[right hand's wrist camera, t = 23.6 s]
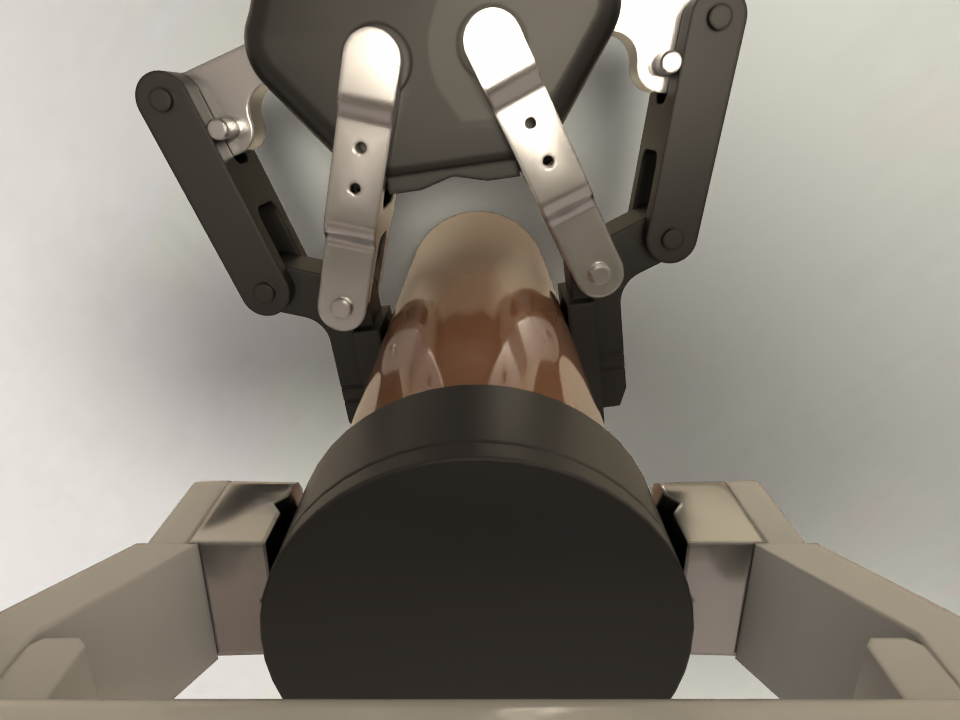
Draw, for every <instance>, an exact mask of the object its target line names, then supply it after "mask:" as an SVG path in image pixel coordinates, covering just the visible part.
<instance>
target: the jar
mask: <svg viewBox="0 0 960 720" xmlns="http://www.w3.org/2000/svg"><path fill="white" fill-rule="evenodd" d="M481 384H486V385H497V386H507V387H514V388H518V389H523V390H527V391H532V392H536V393H539V394H542V395H544V396H547V397H550V398H553V399H556V400H559V401H561V402H563V403H565V404H567V405H569V406H571V407H573V408H575V409H577V410H579V411H581V412H582V413H584V414H585V415H587V416H588V417H590V418H591V419H593V420H594V421H596V422H597V423H599V424H600V425H601V426H603V427H604V428H605V425H604V423H603V420H602V417H601V414H600V412H599V409H598V406H597V404H596V401H595V398H594V395H593V393H592V390H591V387H590V385H589V382H588V379H587V377H586V374H585V371H584V368H583V366H582V363H581V360H580V358H579V355H578V352H577V349H576V347H575V344H574V341H573V339H572V336H571V333H570V330H569V328H568V325H567V322H566V320H565V317H564V314H563V312H562V309H561V306H560V303H559V301H558V298H557V295H556V293H555V290H554V287H553V284H552V282H551V279H550V276H549V274H548V271H547V268H546V265H545V263H544V260H543V257H542V255H541V252H540V250H539V248H538V246H537V244H536V243H535V241H534V240H533V238H532V237H531V236H530V235H529V233H528V232H526V231H525V230H524V229H523V228H522V227H521V226H520V225H518V224H517V223H515V222H514V221H512V220H510V219H508V218H506V217H504V216H501V215H498V214H494V213H490V212H468V213H462V214H459V215H456V216H453V217H451V218H448V219H446V220H444V221H443V222H441V223H440V224H438V225H437V226H436V227H434V228H433V229H432V230H431V231H430V232H429V233H428V234H427V235H426V236H425V238H424V239H423V241H422V242H421V244H420V245H419V247H418V249H417V251H416V254H415V256H414V259H413V262H412V264H411V267H410V270H409V272H408V275H407V278H406V280H405V283H404V286H403V288H402V291H401V293H400V296H399V299H398V301H397V304H396V307H395V309H394V312H393V315H392V317H391V320H390V323H389V325H388V328H387V331H386V333H385V336H384V339H383V341H382V344H381V347H380V349H379V352H378V355H377V357H376V360H375V363H374V365H373V368H372V370H371V373H370V376H369V378H368V381H367V384H366V386H365V389H364V392H363V394H362V397H361V400H360V402H359V405H358V408H357V410H356V413H355V416H354V418H353V421H352V424H351V426H350V428H351V427H352V426H354V425H355V424H356V423H358V422H359V421H360V420H361V419H363V418H364V417H366V416H367V415H369V414H371V413H373V412H374V411H376V410H378V409H380V408H381V407H383V406H385V405H387V404H389V403H392V402H394V401H397V400H399V399H402V398H404V397H406V396H409V395H412V394H416V393H420V392H424V391H427V390H431V389H435V388H442V387H449V386H456V385H481ZM605 429H606V428H605Z"/></svg>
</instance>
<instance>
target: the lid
mask: <svg viewBox="0 0 960 720" xmlns="http://www.w3.org/2000/svg"><path fill="white" fill-rule="evenodd" d="M693 632H694V614H693V603H692V598H691V594H690V589H689V585H688V582H687V579H686V577H685V574H684V572H683V569H682V567H681V564H680V562H679V560H678V557H677V555H676V552H675V550H674V548H673V546H672V543H671V541H670V538H669V536H668V534H667V531H666V529H665V526H664V524H663V522H662V519H661V517H660V515H659V512H658V510H657V507H656V505H655V503H654V500H653V498H652V496H651V493H650V491H649V489H648V486H647V484H646V481H645V479H644V477H643V475H642V473H641V471H640V470H639V468H638V466H637V465H636V463H635V461H634V460H633V458H632V457H631V456H630V454H629V453H628V452H627V451H626V450H625V448H624V447H623V446H622V445H621V443H620V442H619V441H618V440H617V439H616V438H615V437H614V436H612V435H611V434H610V433H609V432H608V431H607V430H606V429H605V428H604V427H603V426H601V425H600V424H599V423H597V422H596V421H594V420H593V419H591V418H590V417H588V416H587V415H585V414H584V413H582V412H581V411H579V410H577V409H575V408H573V407H571V406H569V405H567V404H565V403H563V402H561V401H559V400H556V399H553V398H550V397H547V396H544V395H542V394H539V393H536V392H532V391H527V390H523V389H518V388H514V387H507V386H497V385H486V384H481V385H456V386H449V387H442V388H435V389H431V390H427V391H424V392H420V393H416V394H412V395H409V396H406V397H404V398H402V399H399V400H397V401H394V402H392V403H389V404H387V405H385V406H383V407H381V408H380V409H378V410H376V411H374V412H373V413H371V414H369V415H367V416H366V417H364V418H363V419H361V420H360V421H359V422H358V423H356V424H355V425H354V426H352V427H351V428H350V429H348V430H347V431H346V432H345V433H344V434H343V435H342V436H341V437H340V438H339V439H338V440H337V441H336V442H335V443H334V444H333V445H332V446H331V447H330V448H329V450H328V451H327V452H326V454H325V455H324V457H323V458H322V459H321V461H320V462H319V463H318V465H317V467H316V469H315V470H314V472H313V474H312V476H311V478H310V480H309V482H308V484H307V486H306V489H305V491H304V493H303V496H302V498H301V500H300V503H299V505H298V507H297V510H296V512H295V514H294V517H293V519H292V521H291V524H290V526H289V528H288V531H287V533H286V535H285V538H284V540H283V542H282V545H281V547H280V549H279V552H278V554H277V556H276V559H275V561H274V564H273V566H272V568H271V571H270V574H269V577H268V580H267V583H266V586H265V589H264V592H263V597H262V604H261V611H260V637H261V643H262V648H263V653H264V658H265V662H266V664H267V667H268V670H269V673H270V675H271V678H272V681H273V682H274V684H275V686H276V688H277V690H278V691H279V693H280V695H281V697H282V699H671V698H672V696H673V695H674V693H675V692H676V690H677V687H678V685H679V683H680V681H681V679H682V677H683V675H684V673H685V670H686V667H687V663H688V660H689V657H690V653H691V648H692V640H693Z"/></svg>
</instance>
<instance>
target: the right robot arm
mask: <svg viewBox="0 0 960 720" xmlns="http://www.w3.org/2000/svg"><path fill="white" fill-rule="evenodd" d="M302 496H303V489H302V487H301V486H300V484H299V482H249V481H234V482H232V481H200V482H196V483H194V484H193V485H192V486H191V488H190V489H189V490H188V491H187V493H186V494H185V495H184V497H183V498H182V499H181V501H180V502H179V503H178V505H177V506H176V507H175V508H174V510H173V511H172V512H171V514H170V515H169V516H168V518H167V519H166V520H165V521H164V523H163V524H162V525H161V527H160V528H159V529H158V531H157V532H156V533H155V534H154V536H153V537H152V538H151V540H150V541H149V542H148V543H141V544H135V545H133V546H131V547H129V548H127V549H125V550H123V551H121V552H119V553H117V554H115V555H113V556H111V557H109V558H107V559H105V560H103V561H101V562H99V563H97V564H95V565H93V566H91V567H89V568H87V569H85V570H83V571H81V572H79V573H77V574H75V575H73V576H71V577H69V578H67V579H65V580H63V581H61V582H59V583H57V584H55V585H53V586H51V587H49V588H47V589H45V590H43V591H41V592H39V593H37V594H35V595H33V596H31V597H29V598H27V599H25V600H23V601H21V602H19V603H17V604H15V605H13V606H11V607H9V608H7V609H5V610H3V611H1V612H0V720H960V616H958V615H956V614H954V613H952V612H950V611H948V610H946V609H944V608H942V607H940V606H938V605H936V604H934V603H932V602H930V601H928V600H926V599H924V598H923V597H921V596H919V595H917V594H915V593H913V592H911V591H909V590H907V589H905V588H903V587H901V586H899V585H897V584H895V583H893V582H891V581H889V580H887V579H885V578H883V577H881V576H879V575H877V574H875V573H873V572H871V571H869V570H867V569H865V568H863V567H861V566H860V565H858V564H856V563H854V562H852V561H850V560H848V559H846V558H844V557H842V556H840V555H838V554H836V553H834V552H832V551H830V550H828V549H826V548H824V547H822V546H820V545H818V544H813V543H805V542H804V541H803V539H802V538H801V537H800V536H799V534H798V533H797V532H796V530H795V529H794V528H793V526H792V525H791V524H790V522H789V521H788V520H787V518H786V517H785V516H784V514H783V513H782V512H781V510H780V509H779V508H778V506H777V505H776V504H775V503H774V501H773V500H772V499H771V497H770V496H769V495H768V493H767V492H766V491H765V489H764V488H763V487H762V485H761V484H760V483H758V482H756V481H754V480H752V481H727V482H685V483H656V484H654V485H653V488H652V492H651V496H652V498H653V500H654V503H655V505H656V507H657V510H658V512H659V515H660V517H661V519H662V522H663V524H664V526H665V529H666V531H667V534H668V536H669V538H670V541H671V543H672V546H673V548H674V550H675V552H676V555H677V557H678V560H679V562H680V564H681V567H682V569H683V572H684V574H685V577H686V579H687V582H688V585H689V589H690V594H691V598H692V603H693V614H694V632H693V640H692V648H691V653H690V654H697V655H733V656H736V657H735V659H737V660H738V661H739V662H740V663H741V664H742V665H743V666H744V667H745V668H746V669H748V670H749V671H750V672H751V673H752V674H753V675H754V676H755V677H756V678H758V679H759V680H760V681H761V682H762V683H763V684H764V685H765V686H766V687H767V688H769V689H770V690H771V691H772V692H773V693H774V694H775V695H776V696H777V697H779V698H780V699H174V698H175V697H176V696H177V695H178V694H179V693H180V692H182V691H183V690H184V689H185V688H186V687H187V686H188V685H189V684H191V683H192V682H193V681H194V680H195V679H196V678H197V677H198V676H200V675H201V674H202V673H203V672H204V671H205V670H206V669H207V668H208V667H210V666H211V665H212V664H213V663H214V662H215V661H216V660H217V659H218V656H220V655H255V654H264V653H263V648H262V643H261V637H260V611H261V604H262V597H263V592H264V589H265V586H266V583H267V580H268V577H269V574H270V571H271V568H272V566H273V564H274V561H275V559H276V556H277V554H278V552H279V549H280V547H281V545H282V542H283V540H284V538H285V535H286V533H287V531H288V528H289V526H290V524H291V521H292V519H293V517H294V514H295V512H296V510H297V507H298V505H299V503H300V500H301V498H302Z"/></svg>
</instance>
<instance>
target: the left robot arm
mask: <svg viewBox="0 0 960 720" xmlns="http://www.w3.org/2000/svg"><path fill="white" fill-rule="evenodd" d="M746 20H747V6H746V3H745V0H251V4H250V10H249V14H248V17H247V21H246V25H245V33H244V41H245V44H244V45H242V46H240V47H238V48H236V49H233V50H231V51H229V52H227V53H225V54H223V55H221V56H219V57H216V58H214V59H212V60H210V61H208V62H206V63H204V64H202V65H199V66H197V67H195V68H193V69H191V70H189V71H187V72H184V73H176V72H167V71H152V72H149V73H147V74H145V75H144V76H143V77H142V78H141V79H140V80H139V82H138V84H137V86H136V91H135V98H136V103H137V106H138V109H139V111H140V113H141V114H142V116H143V118H144V120H145V122H146V124H147V125H148V127H149V129H150V131H151V133H152V135H153V136H154V138H155V140H156V142H157V144H158V146H159V147H160V149H161V151H162V153H163V155H164V157H165V158H166V160H167V162H168V164H169V166H170V167H171V169H172V171H173V173H174V175H175V177H176V178H177V180H178V182H179V184H180V186H181V188H182V189H183V191H184V193H185V195H186V197H187V199H188V200H189V202H190V204H191V206H192V208H193V210H194V211H195V213H196V215H197V217H198V219H199V221H200V222H201V224H202V226H203V228H204V230H205V231H206V233H207V235H208V237H209V239H210V241H211V242H212V244H213V246H214V248H215V250H216V252H217V253H218V255H219V257H220V259H221V261H222V263H223V264H224V266H225V268H226V270H227V272H228V274H229V275H230V277H231V279H232V281H233V283H234V285H235V286H236V288H237V290H238V292H239V294H240V296H241V297H242V299H243V301H244V303H245V304H246V305H247V306H248V308H249V309H251V310H252V311H254V312H255V313H257V314H260V315H264V316H271V315H275V314H278V313H280V312H284V313H288V314H293V315H298V316H303V317H307V318H310V319H312V320H314V321H316V322H318V323H319V324H320V325H321V326H322V327H323V328H324V329H325V330H326V332H327V333H328V335H329V337H330V340H331V344H332V349H333V353H334V358H335V362H336V366H337V371H338V375H339V380H340V384H341V387H342V393H343V397H344V400H345V406H346V410H347V415H348V419H349V422H350V424H352V421H353V418H354V416H355V413H356V410H357V408H358V405H359V402H360V400H361V397H362V394H363V392H364V389H365V386H366V384H367V381H368V378H369V376H370V373H371V370H372V368H373V365H374V363H375V360H376V357H377V355H378V352H379V349H380V347H381V344H382V341H383V339H384V336H385V333H386V331H387V328H388V325H389V323H390V320H391V317H392V314H391V308H390V305H388V306H381V304H380V299H379V294H378V292H379V289H380V283H381V277H382V270H383V264H384V258H385V252H386V245H387V239H388V233H389V229H390V225H391V222H392V217H393V212H394V207H395V201H396V194H397V193H404V192H411V191H418V190H422V189H425V188H427V187H429V186H432V185H434V184H436V183H438V182H441V181H443V180H445V179H448V178H450V177H463V178H471V179H479V180H486V181H488V180H496V179H503V178H510V177H517V176H520V173H519V172H521V173H522V175H523V177H524V179H525V181H526V183H527V185H528V187H529V189H530V192H531V194H532V196H533V198H534V200H535V202H536V204H537V206H538V208H539V210H540V212H541V214H542V216H543V218H544V220H545V222H546V224H547V226H548V228H549V231H550V233H551V235H552V237H553V239H554V241H555V243H556V245H557V247H558V249H559V251H560V253H561V255H562V258H563V261H564V272H565V282H566V283H558V291H559V301H560V306H561V309H562V312H563V314H564V317H565V320H566V322H567V325H568V328H569V330H570V333H571V336H572V339H573V341H574V344H575V347H576V349H577V352H578V355H579V358H580V360H581V363H582V366H583V368H584V371H585V374H586V377H587V379H588V382H589V385H590V387H591V390H592V393H593V395H594V398H595V401H596V404H597V406H598V409H599V412H600V414H601V417H602V420H603V423H604V412H603V407H610V406H618V405H620V403H621V400H622V397H623V394H624V392H625V389H626V380H625V368H624V354H623V336H622V321H621V306H620V299H621V294H622V291H623V289H624V287H625V285H626V284H627V283H628V281H629V280H630V279H631V278H633V277H634V276H635V275H637V274H639V273H640V272H642V271H644V270H646V269H648V268H650V267H652V266H654V265H656V264H658V263H660V262H663V263H676V262H679V261H681V260H683V259H685V258H686V257H687V256H688V255H689V254H690V253H691V252H692V251H693V249H694V247H695V245H696V242H697V238H698V233H699V229H700V224H701V220H702V215H703V211H704V207H705V202H706V198H707V193H708V189H709V184H710V180H711V176H712V171H713V167H714V162H715V158H716V153H717V149H718V145H719V140H720V136H721V131H722V127H723V122H724V118H725V114H726V109H727V105H728V100H729V96H730V91H731V87H732V82H733V78H734V74H735V69H736V65H737V60H738V56H739V51H740V47H741V43H742V38H743V34H744V29H745V25H746ZM611 36H613V37H616V38H617V39H619V40H620V41H621V42H622V43H623V44H624V45H625V47H626V49H627V51H628V54H629V60H630V63H629V72H630V77H631V79H632V81H633V83H634V84H635V86H636V87H637V88H638V89H640V90H641V91H644V92H647V93H650V98H649V103H648V108H647V114H646V119H645V124H644V130H643V135H642V140H641V146H640V151H639V157H638V162H637V167H636V173H635V178H634V183H633V189H632V194H631V199H630V205H629V210H628V212H627V213H625V214H623V215H621V216H619V217H617V218H615V219H613V220H611V221H610V222H608V223H606V224H605V223H604V221H603V219H602V217H601V214H600V212H599V210H598V208H597V206H596V203H595V201H594V197H593V193H592V190H591V188H590V185H589V183H588V181H587V178H586V176H585V174H584V172H583V170H582V167H581V165H580V163H579V161H578V158H577V156H576V154H575V152H574V150H573V147H572V145H571V143H570V141H569V138H568V136H567V134H566V132H565V130H564V127H563V123H564V121H565V119H566V118H567V116H568V114H569V112H570V110H571V108H572V107H573V105H574V103H575V101H576V99H577V97H578V96H579V94H580V92H581V90H582V88H583V86H584V85H585V83H586V81H587V79H588V77H589V75H590V74H591V72H592V70H593V68H594V66H595V64H596V63H597V61H598V59H599V57H600V55H601V53H602V52H603V50H604V48H605V46H606V44H607V42H608V41H609V39H610V37H611ZM268 90H270V91H271V92H272V93H273V94H274V95H275V96H276V97H277V98H278V99H279V100H280V101H281V102H282V103H283V104H284V105H285V106H286V107H287V108H288V109H289V110H290V111H291V112H292V113H293V114H294V115H295V116H296V117H297V118H298V119H299V120H300V121H301V122H302V123H303V124H304V125H305V126H306V127H307V128H308V129H309V130H310V131H311V132H312V133H313V134H314V135H315V136H316V137H317V138H318V139H319V140H320V141H321V142H322V143H323V144H324V145H325V146H326V147H327V148H328V149H329V150H330V151H331V152H332V161H331V169H330V177H329V185H328V193H327V201H326V209H325V217H324V233H325V236H326V242H325V250H324V258H323V260H320V259H316V258H311V257H307V255H306V253H305V251H304V249H303V247H302V245H301V243H300V241H299V239H298V237H297V235H296V233H295V231H294V229H293V227H292V225H291V223H290V221H289V219H288V217H287V215H286V213H285V211H284V209H283V207H282V205H281V203H280V201H279V199H278V197H277V195H276V193H275V191H274V189H273V187H272V185H271V183H270V181H269V179H268V177H267V175H266V173H265V171H264V169H263V167H262V165H261V163H260V161H259V159H258V157H257V155H256V153H255V151H254V150H256V149H257V148H258V147H259V146H260V145H261V144H262V142H263V140H264V137H265V123H264V120H263V117H262V113H261V103H262V99H263V97H264V95H265V93H266V92H267V91H268Z"/></svg>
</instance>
